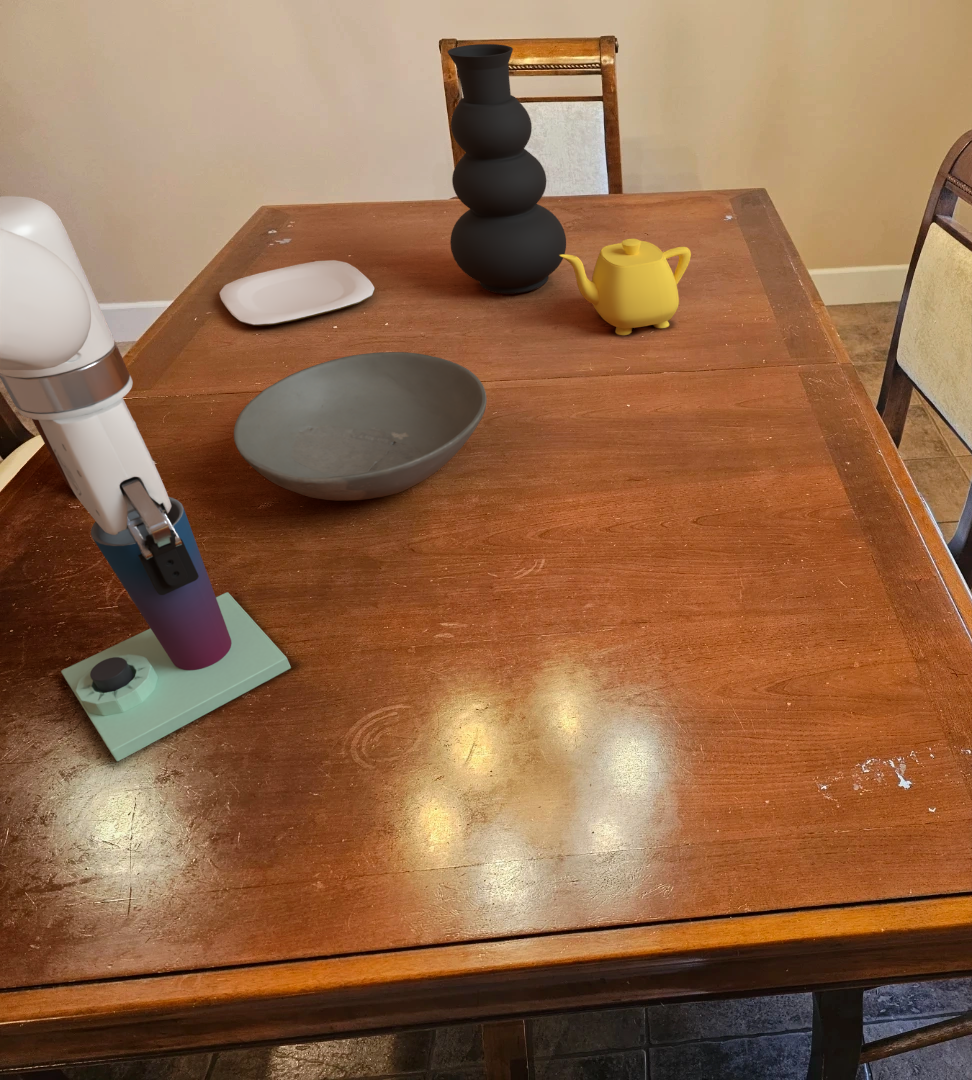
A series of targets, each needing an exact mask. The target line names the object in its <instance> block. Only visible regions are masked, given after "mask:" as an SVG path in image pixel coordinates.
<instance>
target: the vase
mask: <svg viewBox="0 0 972 1080" xmlns="http://www.w3.org/2000/svg"><path fill="white" fill-rule="evenodd" d="M513 50H514V48H513V47H512V46H511V45H506V44H497V43H478V44H477V43H476V44H467V45H466V44H465V45H460V46H456V47H452V48H450V49H448V50H447V54H448V56H449V57H450V59H451V60H452V62H453V63H454V65H455V67H456V70H457V73H458V78H459V83H460V87H461V93H462V98H461V99H460V100H459V101H458V103H457V105H456V107H455V108H454V110H453V113H452V116H451V120H450V128H451V134H452V136H453V138H454V140H455V142H456V144H457V145H458V146H459V147H460V148H461V149H462V150H463V151H464V152H465V153H464V154H463V156H461V158H460V159H459V161H457V164H456V165H455V167H454V169H453V172H452V177H451V182H452V188H453V191H454V193H455V195H456V197H457V198H458V200H459V201H460V202H461V203H462V204H463V205H464V206H466V207H467V208H468V210H467V211H465V212H464V213H463V214H462V215H461V216H460V217H459V218H458V219H457V220H456V222H455V223H454V226H453V227H452V230H451V234H450V251H451V254H452V257H453V259H454V261H455V263H456V264H457V266H458V267H459V269H460V270H461V271H462V272H463V273H464V274H465V275H466V276H467V277H469V278H471V279H473V280H475V281H477V282H479V285H480V286H481V288H483V289H484V290H485V291H488V292H491V293H496V294H504V295H513V294H515V295H516V294H523V293H529V292H531V291H535V290H537V289H539V288H541V287H543V286H544V285H545V284H547V282H548V280H549V277H550V275H551V274H552V273H553V272H555V271H556V270H557V269H558V268H559V266H560V265H561V264H562V261H563V260H564V258H562V257H560V256H559V255H561V254H566V250H567V238H566V233H565V229H564V227H563V224H562V223H561V221H560V220H559V219H558V217H557V216H556V215H555V214H554V213H553V212H552V211H550V210H549V209H548V208H546V207H545V206H542V205H541V204H538V202H540V201H541V199H542V198H543V196H544V193H545V191H546V188H547V175H546V172H545V169H544V167H543V165H542V163H541V162H540V161H539V160H538V158H536V157H535V156H534V155H533V154H532V153H530V152H529V151H528V150H527V149H525V148H526V147H527V145H528V144H529V141H530V139H531V136H532V129H533V127H532V126H533V125H532V120H531V117H530V115H529V112H528V110H527V109H526V107H524V105H523V104H522V103H521V102H520V101H519V99H517V97H516V96H514V95H512V93H511V83H510V69H509V67H510V66H509V64H510V59H511V57H512V54H513Z"/></svg>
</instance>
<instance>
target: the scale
mask: <svg viewBox="0 0 972 1080" xmlns="http://www.w3.org/2000/svg"><path fill="white" fill-rule="evenodd" d="M216 599H217V602H218V605H219V607H220V610H221V613H222V616H223V619H224V621H225V624H226V627H227V630H228V632H229V635H230V638H231V643H232V644H231V648H230V650H229V652H228V653H227V654H226V655H225V656H224V657H223V658H222V659H221V660H219V661H218V662H216V663H214V664H213V665H210V666H208V667H205V668H202V669H197V670H183V669H180V668H178V667H176V666H175V665H174V664H173V662H172V661H171V659H170V658H169V656H168V655H167V653H166V652H165V650H164V648H163V647H162V645H161V644H160V642H159V641H158V639H157V638H156V636H155V634H154V633H153V631H152V630H151V628H150V627H149V629H148V628H147V629H146V630H144V631H142V632H140V633H138V634H136V635H133V636H131V637H129V638H127V639H125V640H123V641H121V642H118V643H116V644H114V645H112V646H110V647H108V648H106V649H104V650H102V651H100V652H98V653H95V654H93V655H91V656H89V657H88V658H87V657H86V658H85V659H83V660H80V661H79V662H77V663H74V664H71V665H70V666H68V667H66V668H64V669H62V670H60V673H61V674H62V676H63V678H64V679H65V681H66V682H67V684H68V686H69V688H70V689H71V690H72V693H74V695H75V697H76V699H77V700H78V702H79V704H80V705H81V707H82V708H83V710H84V712H85V713H86V715H87V716H88V718H89V719H90V722H91V723H92V725H93V727H95V729H96V731H97V732H98V735H99V736H100V737H101V739H102V740H103V742H104V744H105V745H106V747H107V749H108V750H109V752H110V754H111V755H112V756H113V759H114V760H115V761H116V762H118V763H119V762H120V761H122V760H124V759H125V758H127V757H129V756H131V755H133V754H134V753H136V752H139V751H140V750H142V749H144V748H146V747H148V746H150V745H151V744H153V743H155V742H158V741H159V740H160V739H163V738H164V737H166V736H169V735H170V734H172V733H173V732H175V731H177V730H179V729H181V728H184V727H185V726H186V725H189V724H190V723H192V722H194V721H196V720H198V719H199V718H201V717H203V716H205V715H207V714H208V713H209V714H210V712H211V713H212V712H213V711H215V710H216V709H218V708H220V707H222V706H224V705H225V704H227V703H230V702H231V701H233V700H235V699H237V698H238V697H240V696H243V695H245V694H246V693H248V692H250V691H252V690H253V689H255V688H257V687H259V686H260V685H262V684H264V683H266V682H269V681H270V680H272V679H274V678H276V677H277V676H279V675H281V674H283V673H285V672H287V671H288V670H290V669H291V668H292V667H291V665H290V662H289V660H288V658H287V656H286V655H285V654H284V652H282V651H281V649H280V648H279V647H278V646H277V644H275V643H274V641H272V640H271V638H270V637H269V636H268V635H267V634H266V633H265V631H263V630H262V628H261V627H260V626H259V625H258V624H257V623H256V622H255V620H253V618H252V617H251V616H250V615H249V614H248V613H247V612H246V610H244V609H243V607H242V606H241V605H240V603H238V602H237V600H235V599H234V597H233V596H232V595H231V594H230V593H229V592H228V591H227V592H224V593H222V594H220V595H217V596H216ZM113 657H120V658H123V659H125V660H126V662H127V663H128V665H129V667H130V669H131V670H132V672H133V679H132V680H131V681H130V682H129V683H128V684H127V685H126V686H124V687H122V688H120V689H118V690H116V691H112V692H107V693H105V692H101V691H99V690H98V688H97V687H96V685H95V683H94V682H93V680H92V679H91V677H90V673H91V670H92V669H93V667H94V666H95V665H97V664H98V663H99V662H101V661H103V660H105V659H108V658H113Z"/></svg>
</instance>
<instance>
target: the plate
mask: <svg viewBox="0 0 972 1080" xmlns="http://www.w3.org/2000/svg"><path fill="white" fill-rule="evenodd" d="M375 290H376V288H375V286H374V284H373V283H372V281H371V280H370V279H369V278H368V277H367V275H365V274H363V272H361V271H360V270H359V269H358V268H357V267H355V266H354V265H352V264H350V263H348V262H345V261H341V260H336V259H331V260H315V261H309V262H304V263H298V264H293V265H290V266H284V267H281V268H275V269H272V270H267V271H262V272H259V273H254V274H252V275H248V276H244V277H241V278H238V279H235V280H233V281H231V282H229V283H227V284H225V285H223V287H222V288H221V289H220V291H219V297H220V300H221V302H222V303H223V305H224V306H225V308H226V309H227V310H228V312H229V313H230V314H231V315H232V317H233V318H234V319H235V320H237V321H238V322H239V323H243V324H246V325H251V326H255V327H261V326H275V325H281V324H285V323H291V322H295V321H300V320H305V319H309V318H313V317H316V316H320V315H321V316H322V315H324V314H328V313H332V312H336V311H340V310H343V309H346V308H349V307H352V306H356V305H358V304H360V303H362V302H364V301H366V300H369V299H370V298H372V297H373V296H374V293H375Z"/></svg>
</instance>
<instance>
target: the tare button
mask: <svg viewBox="0 0 972 1080" xmlns="http://www.w3.org/2000/svg"><path fill="white" fill-rule="evenodd" d="M90 677H91V679H92V680H93V682H94V683H95V685H96V687H97V688H98V690H99V691H101V692H105V693H107V692H112V691H116V690H118V689H120V688H122V687H124V686H126V685H127V684H128V683H129V682H130V681H131V680H132V679H133V672H132V670H131V669H130V667H129V665H128V663H127V662H126V660H125V659H123V658H120V657H113V658H108V659H105V660H103V661H101V662H99V663H98V664H97V665H95V666H94V667H93V669H92V670H91V673H90Z"/></svg>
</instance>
